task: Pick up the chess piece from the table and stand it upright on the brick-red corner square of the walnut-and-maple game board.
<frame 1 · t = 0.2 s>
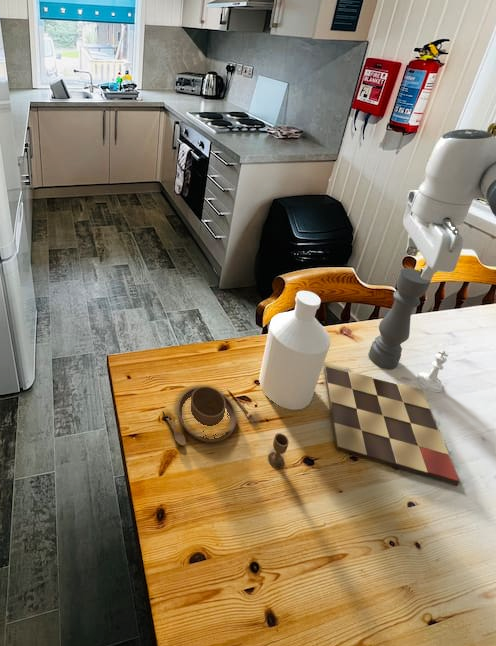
hand: (417, 265, 85), 28 cm above the table, tool pointing down, fingers open, 8 cm apart
candle holder: (382, 360, 97), on the table
place setting: (218, 434, 78), on the table
chess piece: (429, 383, 91), on the table
board: (381, 420, 82), on the table
bottle: (284, 387, 89), on the table
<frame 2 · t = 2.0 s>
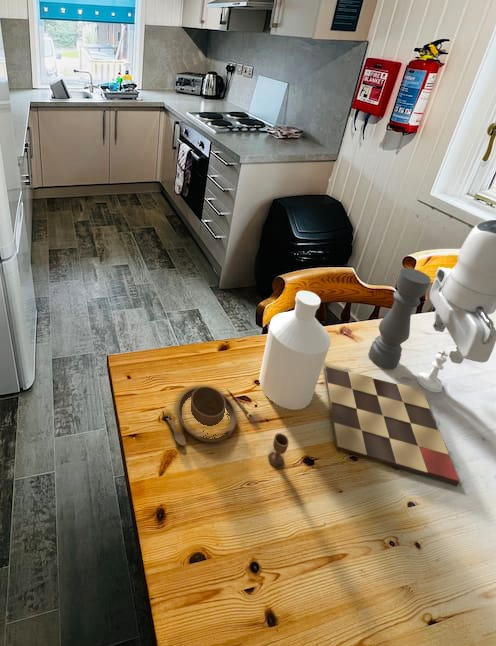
hand: (445, 344, 86), 12 cm above the table, tool pointing down, fingers open, 8 cm apart
nothing on the table moved.
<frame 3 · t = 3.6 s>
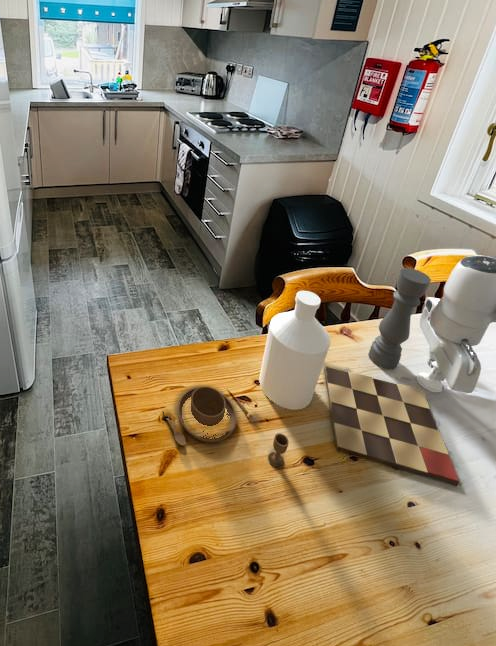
hand: (434, 371, 89), 4 cm above the table, tool pointing down, fingers closed on chess piece
chess piece: (429, 383, 91), on the table, touching gripper
everything else where it was.
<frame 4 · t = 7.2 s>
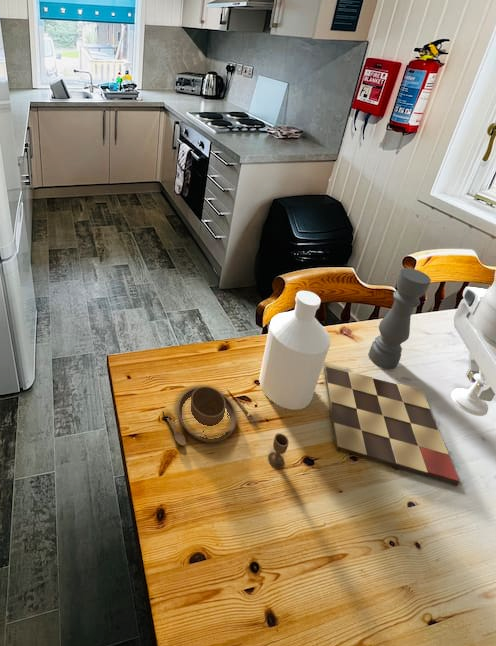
hand: (477, 388, 66), 20 cm above the table, tool pointing down, fingers closed on chess piece
chess piece: (468, 403, 67), point 17 cm above the table, touching gripper
everything else where it was.
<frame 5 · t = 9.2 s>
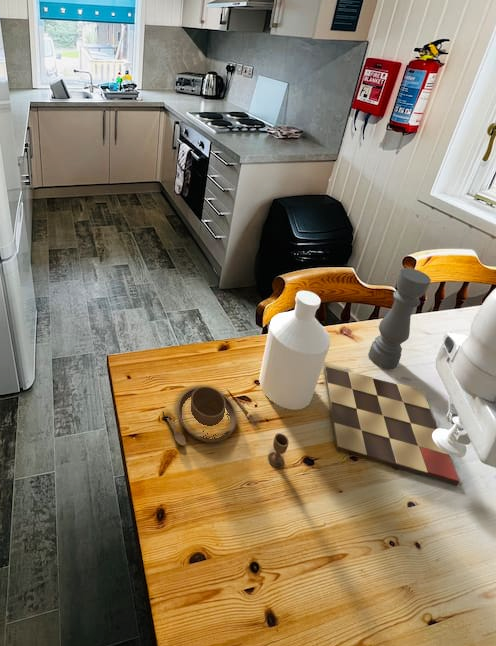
hand: (456, 430, 69), 11 cm above the table, tool pointing down, fingers closed on chess piece
chess piece: (448, 444, 71), point 7 cm above the table, touching gripper
everything else where it was.
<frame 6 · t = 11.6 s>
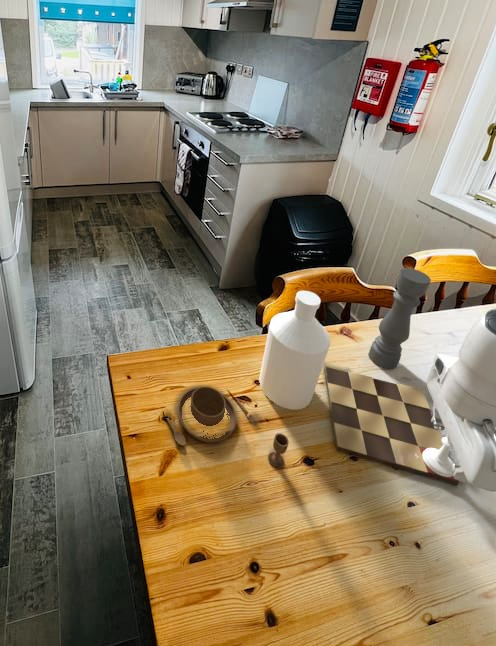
hand: (446, 449, 71), 5 cm above the table, tool pointing down, fingers open, 8 cm apart
chess piece: (437, 463, 73), point 1 cm above the table, touching board
everything else where it was.
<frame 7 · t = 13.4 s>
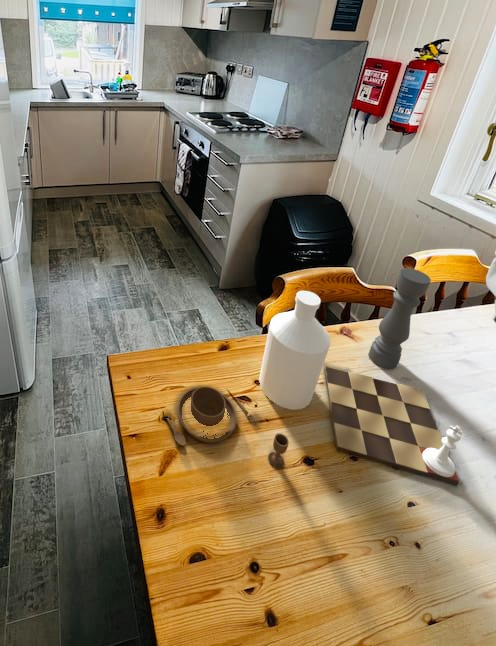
nothing on the table moved.
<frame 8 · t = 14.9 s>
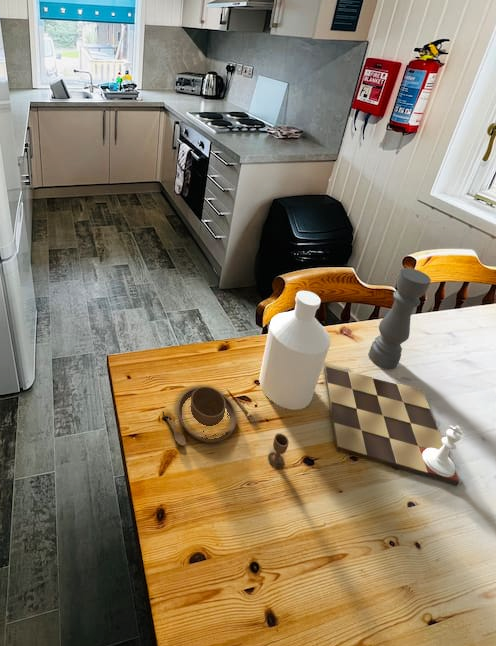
nothing on the table moved.
at the end: chess piece 0.1 cm from the target spot on the board, point 1.2 cm above the board's base; chess piece tilted 0°; the gripper is holding nothing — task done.
